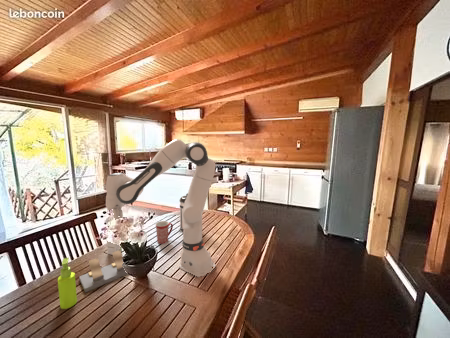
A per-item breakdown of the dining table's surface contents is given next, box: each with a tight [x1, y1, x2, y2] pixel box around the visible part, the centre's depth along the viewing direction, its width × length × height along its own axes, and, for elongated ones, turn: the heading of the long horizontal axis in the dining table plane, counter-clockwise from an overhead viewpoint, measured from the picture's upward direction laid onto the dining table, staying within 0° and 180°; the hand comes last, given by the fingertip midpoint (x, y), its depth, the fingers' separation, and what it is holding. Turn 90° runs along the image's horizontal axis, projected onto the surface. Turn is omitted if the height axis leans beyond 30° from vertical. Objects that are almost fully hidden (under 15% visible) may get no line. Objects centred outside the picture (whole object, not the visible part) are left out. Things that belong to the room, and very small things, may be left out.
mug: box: [155, 220, 174, 244], centre depth 145 cm, size 13×9×14 cm
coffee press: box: [178, 192, 188, 232], centre depth 165 cm, size 17×16×30 cm
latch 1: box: [88, 257, 104, 282], centre depth 102 cm, size 11×4×1 cm
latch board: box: [79, 262, 128, 293], centre depth 107 cm, size 12×23×3 cm, turn 136°
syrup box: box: [106, 240, 123, 256], centre depth 128 cm, size 6×6×14 cm
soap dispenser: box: [57, 257, 78, 310], centre depth 88 cm, size 6×7×20 cm
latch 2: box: [112, 250, 124, 272], centre depth 110 cm, size 11×4×1 cm
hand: (114, 226), depth 110 cm, fingers open, 8 cm apart
